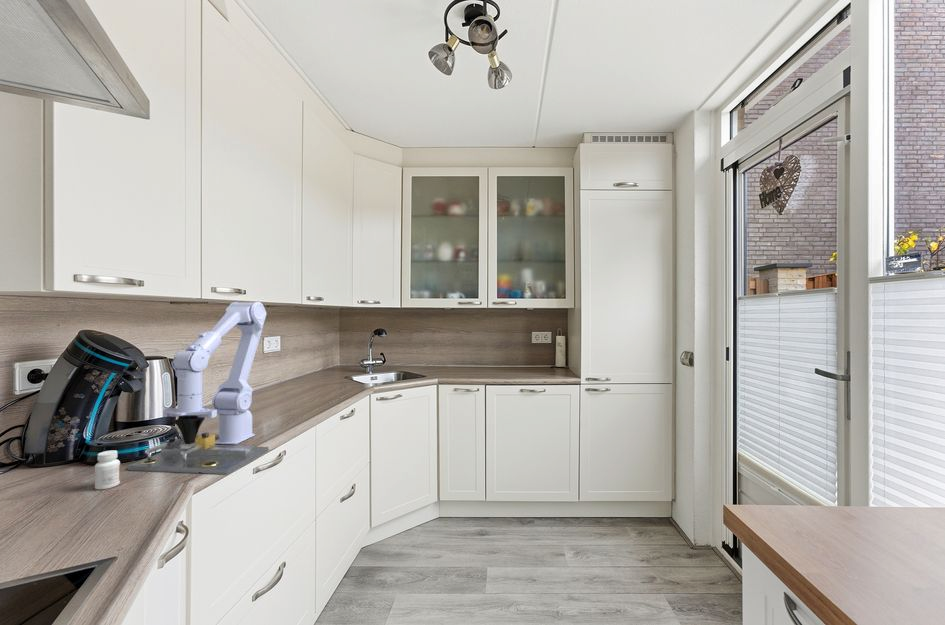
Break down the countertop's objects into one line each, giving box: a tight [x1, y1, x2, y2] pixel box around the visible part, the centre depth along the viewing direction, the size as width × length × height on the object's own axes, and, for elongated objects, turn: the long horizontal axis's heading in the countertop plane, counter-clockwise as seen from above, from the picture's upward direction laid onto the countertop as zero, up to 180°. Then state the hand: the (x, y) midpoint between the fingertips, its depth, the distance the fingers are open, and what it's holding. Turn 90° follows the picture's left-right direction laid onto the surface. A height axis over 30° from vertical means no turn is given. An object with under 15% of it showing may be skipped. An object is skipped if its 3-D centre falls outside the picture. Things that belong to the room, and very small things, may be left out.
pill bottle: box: [94, 450, 121, 490], centre depth 95 cm, size 4×4×8 cm
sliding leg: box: [181, 432, 216, 462], centre depth 110 cm, size 10×3×5 cm, turn 174°
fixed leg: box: [144, 437, 182, 460], centre depth 111 cm, size 9×2×3 cm, turn 174°
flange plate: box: [128, 443, 269, 475], centre depth 111 cm, size 17×27×1 cm, turn 84°
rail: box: [160, 446, 250, 456], centre depth 113 cm, size 2×25×2 cm, turn 84°
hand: (190, 443), depth 113 cm, fingers closed
